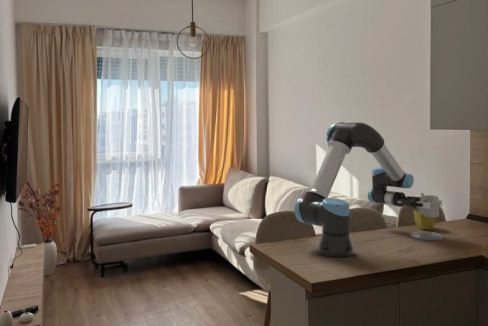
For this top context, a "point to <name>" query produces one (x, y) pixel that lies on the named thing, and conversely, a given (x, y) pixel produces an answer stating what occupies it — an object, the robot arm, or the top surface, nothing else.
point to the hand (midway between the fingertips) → (435, 204)
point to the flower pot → (424, 221)
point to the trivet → (427, 236)
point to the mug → (433, 205)
